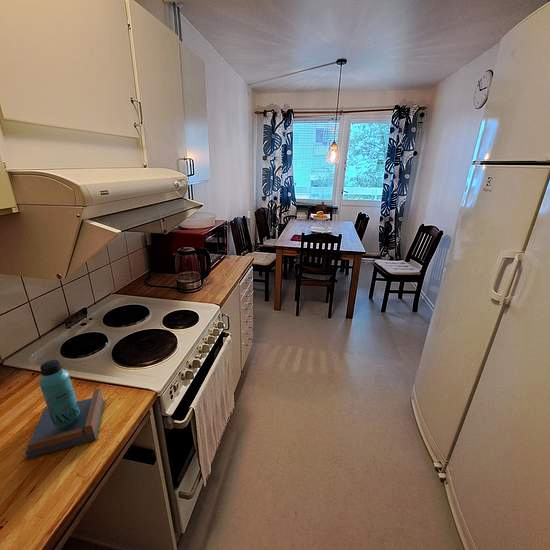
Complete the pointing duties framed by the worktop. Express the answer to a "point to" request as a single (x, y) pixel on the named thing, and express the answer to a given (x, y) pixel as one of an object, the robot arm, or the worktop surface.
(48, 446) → the blue square tray
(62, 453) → the worktop surface
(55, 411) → the beverage bottle
